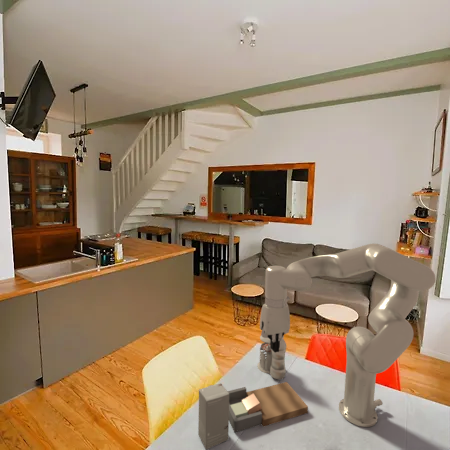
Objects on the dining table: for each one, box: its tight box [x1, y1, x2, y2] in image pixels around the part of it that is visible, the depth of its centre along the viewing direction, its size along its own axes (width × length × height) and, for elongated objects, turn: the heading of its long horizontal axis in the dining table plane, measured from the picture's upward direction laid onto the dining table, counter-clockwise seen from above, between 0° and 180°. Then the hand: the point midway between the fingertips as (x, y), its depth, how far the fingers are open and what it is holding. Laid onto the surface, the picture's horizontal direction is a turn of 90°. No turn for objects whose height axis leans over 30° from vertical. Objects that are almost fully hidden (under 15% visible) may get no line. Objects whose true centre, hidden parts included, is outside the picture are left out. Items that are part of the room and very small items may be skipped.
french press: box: [257, 335, 272, 375], centre depth 125 cm, size 10×12×25 cm
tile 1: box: [230, 402, 248, 418], centre depth 99 cm, size 5×5×2 cm
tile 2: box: [242, 393, 262, 415], centre depth 100 cm, size 5×5×2 cm
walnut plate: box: [246, 381, 309, 427], centre depth 105 cm, size 18×14×2 cm
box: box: [227, 386, 262, 433], centre depth 101 cm, size 10×14×4 cm
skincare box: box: [197, 382, 230, 450], centre depth 90 cm, size 8×7×16 cm
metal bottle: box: [270, 335, 287, 381], centre depth 120 cm, size 6×7×20 cm
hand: (274, 350), depth 101 cm, fingers closed
